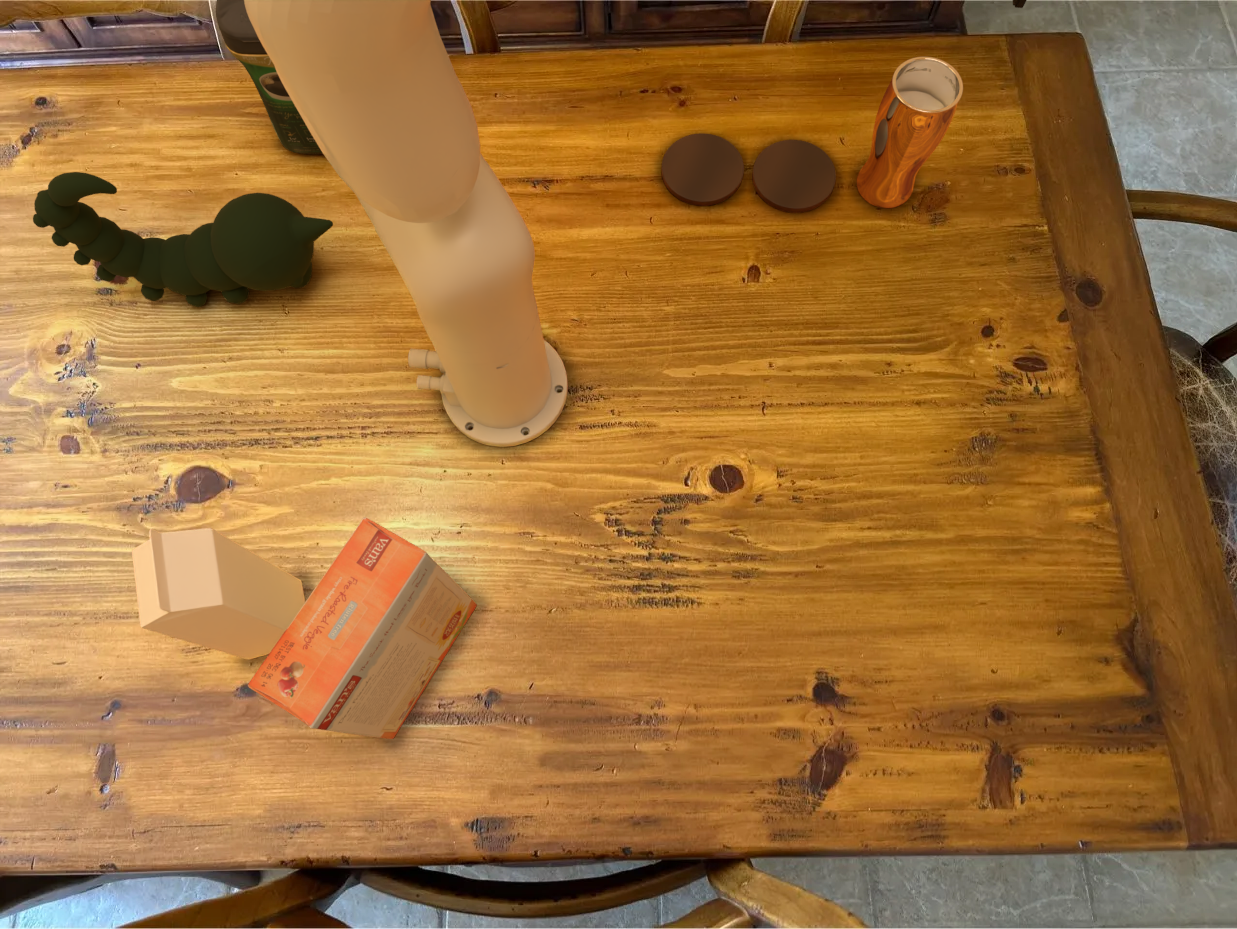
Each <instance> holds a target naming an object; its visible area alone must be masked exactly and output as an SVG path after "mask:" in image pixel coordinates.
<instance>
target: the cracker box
mask: <svg viewBox="0 0 1237 929" xmlns="http://www.w3.org/2000/svg"><path fill="white" fill-rule="evenodd" d="M477 606H478V604H477V603H476V602H475V600H474V599H473V598H471V596H470V595H468V593H467V592H466V591H465V590H464V589H463V588H462V587H461V586H460V585H459V584H458V583H457V582H456V581H455V580H454V579H453V578H452V577H451V576H450V575H449V574H448V573H447V572H446V571H445V570H444V569H443V568H442V567H441V565H439V563H437V561H436V560H434V559H433V558H432V557H431V555H430V554H429V553H427V551H426V550H424V549H422V548H420V547H419V546H417V545H415V544H413V543H412V542H411V541H408V540H407V539H406V538H405V539H404V538H403V537H401V536H400V535H398V534H396V533H394V532H393V531H391V530H389V529H388V528H386V527H384V526H382V525H381V524H379V523H378V522H375V521H373V520H371V518H368V517H366V516H363V518H362V519H361V520H360V522H359V523H358V525H357V526H356V528H355V529H354V530H353V532H352V533H351V535H350V536H349V537H348V538H347V541H346V542H345V543H344V545H343V546H342V548H341V550H340V551H339V552H338V554H337V555H336V557H334V560H333V561H332V563H331V564H330V566H329V567H328V569H327V570H326V572H324V575H323V576H322V577H321V578H320V580H319V582H318V583H317V585H316V586H315V587H314V588H313V590H312V592H311V593H310V595H309V596H308V598H307V599H306V600H305V603H304V605H303V606H302V608H301V609H300V611H299V612H298V614H297V615H296V617H295V618H294V620H293V621H292V622H291V624H290V625H289V627H288V628H287V629H286V631H285V632H284V633H283V635H282V636H281V638H280V639H279V640H278V642H277V643H276V645H275V646H274V648H273V649H272V650H271V652H270V653H269V654H267V655H266V657H265V659H264V660H263V662H262V663H261V665H260V666H259V668H257V671H255V673H254V675H253V677H252V678H251V679H250V680H249V682H248V684H247V687H248V688H249V689H251V691H254V692H255V693H257V694H258V695H260V696H261V697H264V698H265V699H267V701H270V703H273V704H274V705H276V706H277V707H279V708H280V709H282V710H284V711H285V712H287V713H288V714H290V715H292V716H293V717H295V718H297V719H298V720H299V721H301V722H302V723H304V725H305V724H306V725H307V726H308V727H309V728H310V729H313V730H314V729H315V730H322V731H328V732H334V733H341V734H348V735H354V736H355V735H356V736H361V737H370V738H371V737H372V738H378V739H379V738H380V739H387V740H393V739H394V738H395V737H396V735H397V734H398V732H399V731H400V729H401V727H402V726H403V724H404V722H405V721H406V719H407V718H408V717H409V715H410V713H411V712H412V710H413V708H414V707H415V705H416V704H417V702H418V700H419V699H420V698H421V696H422V694H423V693H424V691H425V689H426V687H427V686H428V684H429V683H430V681H431V680H432V678H433V676H434V675H435V673H436V671H437V670H438V669H439V667H440V665H441V663H442V662H443V660H444V659H445V657H446V656H447V654H448V653H449V651H450V649H451V648H452V646H453V645H454V643H455V641H456V639H457V638H458V636H459V635H460V633H461V632H462V630H463V629H464V627H465V626H466V624H467V622H468V620H469V619H470V617H471V615H472V614H473V613H474V611H475V609H476V607H477Z"/></svg>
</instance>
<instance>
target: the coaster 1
mask: <svg viewBox="0 0 1237 929" xmlns="http://www.w3.org/2000/svg"><path fill="white" fill-rule="evenodd" d="M744 173H745V165H744V160H743V157H742V154H741V152H740V151H739V150H738V149H737V148H736V146H735V145H733V143H732V142H730V141H729V140H727V139H726V138H724V137H721V136H719V135H716V134H711V133H702V132H701V133H692V134H688V135H685V136H683V137H680V138H679V139H677V140H675V141H674V142H673V143H672V144H670V146H669V147H668V148H667V149H666V151H665V153H664V155H663V158H662V161H661V179H662V182H663V184H664V186H665V187H666V189H667V190H668V191H669V193H670V194H671V195H673V196H674V197H675V198H676V199H678V200H679V201H681V202H684V203H686V204H689V205H693V206H699V207H706V206H707V207H708V206H714V205H718V204H721V203H723V202H725V201H726V200H728V199H730V198H731V197H733V195H734V194H736V192H737V191H738V189H739V188H740V187H741V184H742V182H743V179H744V178H743V177H744Z"/></svg>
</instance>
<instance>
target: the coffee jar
mask: <svg viewBox="0 0 1237 929" xmlns="http://www.w3.org/2000/svg"><path fill="white" fill-rule="evenodd" d="M215 18H216V22H217V26H218V29H219V31H220V33H221V37H222V39H223V42H224V44H225V47H226V48H227V50H228V51H229V53H230V54H231V55H232V56H233V57H234V58H235V59H236V60H237V61H238V62H239V63H241V65H242V66H243V67H244V69H245V71H246V72H247V74H248V75H249V77H250V78H251V80H252V82H253V84H254V86H255V89H256V91H257V93H258V95H259V97H260V99H261V101H262V104H263V106H264V108H265V111H266V113H267V115H268V117H269V120H270V123H271V125H272V127H273V130H274V132H275V134H276V137H277V138H278V140H279V141H280V144H281V145H282V146H283V148H284V149H286V150H287V151H289V152H291V153H293V154H294V153H295V154H299V155H324V154H323V153H322V151H321V149H320V148H319V146H318V144H317V143H316V141H315V139H314V138H313V136H312V134H311V133H310V131H309V129H308V127H307V126H306V124H305V122H304V120H303V119H302V117H301V115H300V114H299V112H298V110H297V108H296V107H295V105H294V103H293V101H292V100H291V98H290V96H289V94H288V93H287V91H286V89H285V87H284V86H283V84H282V82H281V80H280V78H279V76H278V74H277V71H276V69H275V66H274V64H273V62H272V61H271V59H270V57H269V56H268V54H267V52H266V51H265V49H264V47H263V45H262V44H261V42H260V40H259V38H258V36H257V34H256V32H255V30H254V27H253V25H252V23H251V21H250V19H249V17H248V14H247V11H246V7H245V3H244V0H216V3H215Z"/></svg>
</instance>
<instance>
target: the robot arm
mask: <svg viewBox="0 0 1237 929" xmlns="http://www.w3.org/2000/svg"><path fill="white" fill-rule="evenodd" d="M431 1H432V0H244V3H245V7H246V11H247V14H248V17H249V19H250V21H251V23H252V25H253V27H254V30H255V32H256V34H257V36H258V38H259V40H260V42H261V44H262V45H263V47H264V49H265V51H266V52H267V54H268V56H269V57H270V59H271V61H272V62H273V64H274V66H275V69H276V71H277V74H278V76H279V78H280V80H281V82H282V84H283V86H284V87H285V89H286V91H287V93H288V94H289V96H290V98H291V100H292V101H293V103H294V105H295V107H296V108H297V110H298V112H299V114H300V115H301V117H302V119H303V120H304V122H305V124H306V126H307V127H308V129H309V131H310V133H311V134H312V136H313V138H314V139H315V141H316V143H317V144H318V146H319V148H320V149H321V151H322V153H323V154H322V155H323V156H324V157H325V159H326V160H327V161H328V163H329V164H330V166H331V167H332V168H333V171H335V173H336V174H337V176H338V177H339V178H340V179H341V181H343V182H344V183H345V185H346V186H347V187H348V188H349V189H350V190H351V191H352V192H353V193H354V195H355V196H356V198H357V199H358V201H359V203H360V204H361V207H362V208H363V210H364V212H365V214H366V215H367V217H368V219H369V220H370V222H371V224H372V225H373V228H374V230H375V232H376V235H377V236H378V238H379V240H380V242H381V243H382V245H383V246H384V248H385V250H386V252H387V254H388V255H389V257H390V259H391V261H392V263H393V265H394V266H395V268H396V270H397V272H398V273H399V275H400V277H401V279H402V281H403V283H404V284H405V287H406V289H407V290H408V293H409V294H410V296H411V299H412V300H413V302H414V304H415V305H414V306H415V308H416V312H417V314H418V316H419V319H420V321H421V324H422V326H423V328H424V330H425V332H426V334H427V337H428V338H429V340H430V342H431V344H432V346H433V348H434V350H431V349H425V348H424V349H423V348H414V347H413V348H410V349H409V351H408V353H407V354H408V355H407V363H408V367H409V368H410V369H423V370H429V369H435V370H439V371H440V373H441V376H440V377H439V376H432V375H421V374H418V375H417V377H416V389H418V390H424V391H433V390H434V391H440V394H441V401H442V404H443V407H444V410H445V412H446V414H447V416H448V418H449V419H450V421H451V423H452V424H453V425H454V427H456V428H457V430H458V431H459V432H461V433H462V434H463V435H464V436H466V437H467V438H469V439H471V440H472V441H474V442H476V443H479V444H482V445H485V446H489V447H500V448H505V447H506V448H507V447H515V446H518V445H522V444H526V443H528V442H530V441H532V440H535V439H537V438H539V437H540V436H541V435H543V434H544V433H546V432H547V431H548V430H550V428H551V427H552V426H553V425H554V424H555V423H556V421H558V419H559V417H560V416H561V414H562V413H563V409H564V407H565V404H566V402H567V398H568V391H569V386H568V385H569V384H568V383H569V382H568V376H567V371H566V370H567V369H566V367H565V364H564V362H563V360H562V358H561V356H560V354H559V353H558V352H557V351H556V349H555V348H554V347H553V346H552V345H551V344H550V342H548V341H547V340H545V338H544V335H543V328H542V324H541V318H540V314H539V308H538V305H537V300H536V295H535V289H534V283H533V272H534V268H535V261H536V250H535V244H534V240H533V237H532V235H531V232H530V230H529V228H528V226H527V224H526V222H525V220H524V218H523V216H522V214H521V212H520V211H519V209H518V207H517V206H516V204H515V203H514V201H513V199H512V198H511V196H510V195H509V193H508V191H507V189H506V188H505V187H504V186H503V184H502V182H501V181H500V179H499V178H498V176H497V174H496V173H495V172H494V169H492V167H491V166H490V164H489V163H488V161H487V160H486V159H485V157H484V156H483V154H482V152H481V142H480V134H479V128H478V123H477V120H476V117H475V114H474V110H473V107H472V104H471V103H470V99H469V98H468V95H467V93H466V91H465V89H464V87H463V85H462V83H461V81H460V78H459V77H458V76H457V74H456V70H455V69H454V65H453V64H452V62H451V58H450V56H449V54H448V52H447V50H446V47H445V44H444V42H443V40H442V37H441V35H440V31H439V29H438V28H439V27H438V25H437V22H436V19H435V14H434V12H433V8H432V5H431ZM1026 3H1027V0H1012V6H1014V8H1017V9H1023V8H1024V6H1025V4H1026ZM559 391H560V392H559ZM471 428H472V429H471ZM525 433H527V434H525Z"/></svg>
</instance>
